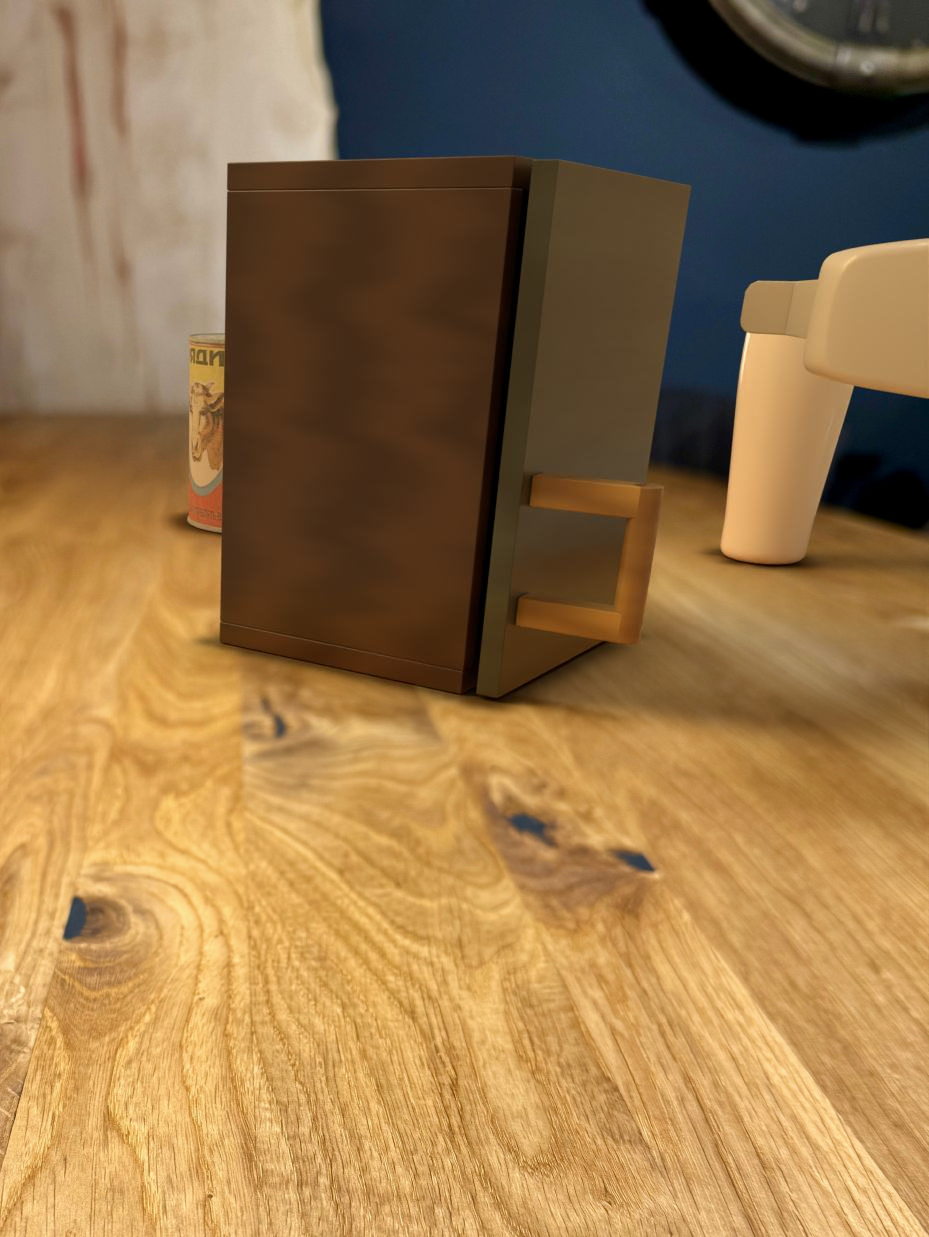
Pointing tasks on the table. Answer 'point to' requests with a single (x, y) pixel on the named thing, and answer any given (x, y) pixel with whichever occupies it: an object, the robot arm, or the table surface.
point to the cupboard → (367, 407)
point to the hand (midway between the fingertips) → (754, 306)
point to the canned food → (206, 430)
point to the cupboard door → (581, 419)
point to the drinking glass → (779, 450)
